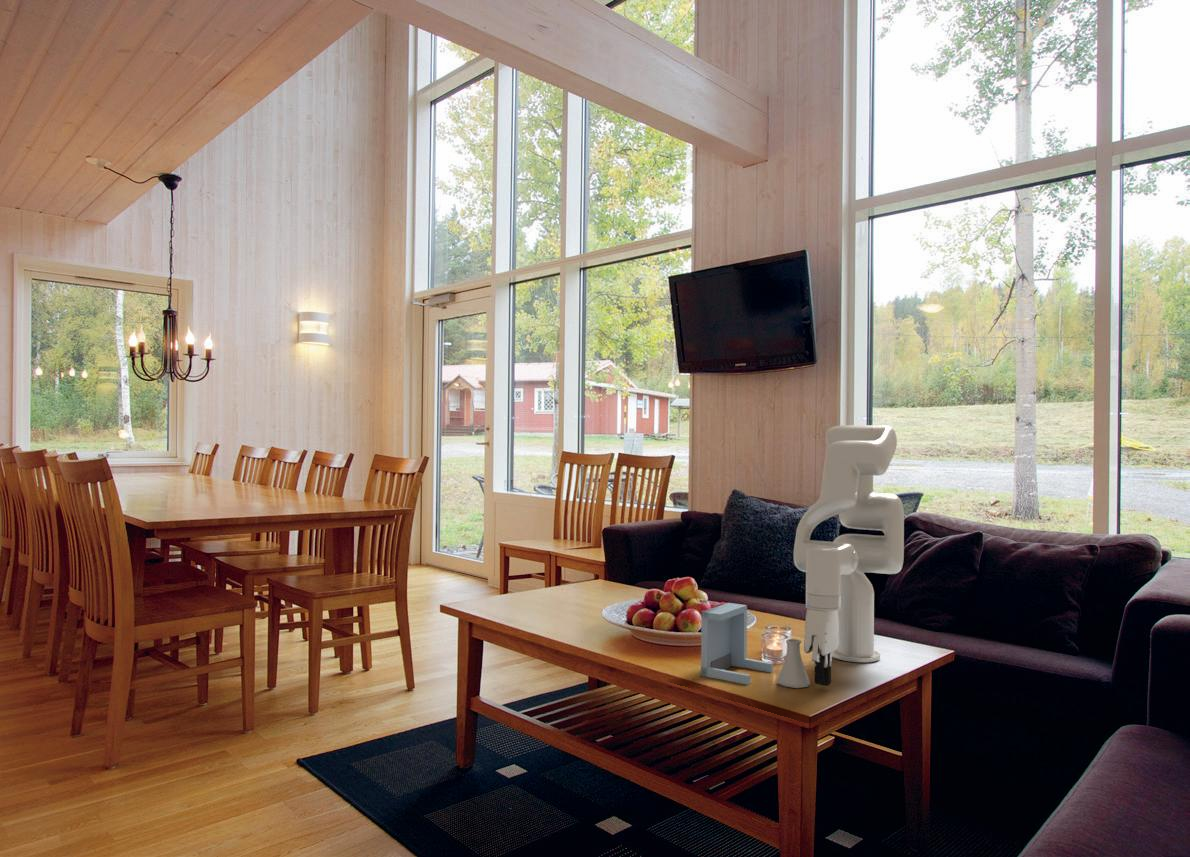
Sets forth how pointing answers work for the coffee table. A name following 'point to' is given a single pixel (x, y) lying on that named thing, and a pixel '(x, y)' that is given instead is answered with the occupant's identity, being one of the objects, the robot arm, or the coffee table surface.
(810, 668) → the coffee table surface
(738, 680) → the blue frame
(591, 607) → the coffee table surface
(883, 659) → the coffee table surface
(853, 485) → the robot arm
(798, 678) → the flask
